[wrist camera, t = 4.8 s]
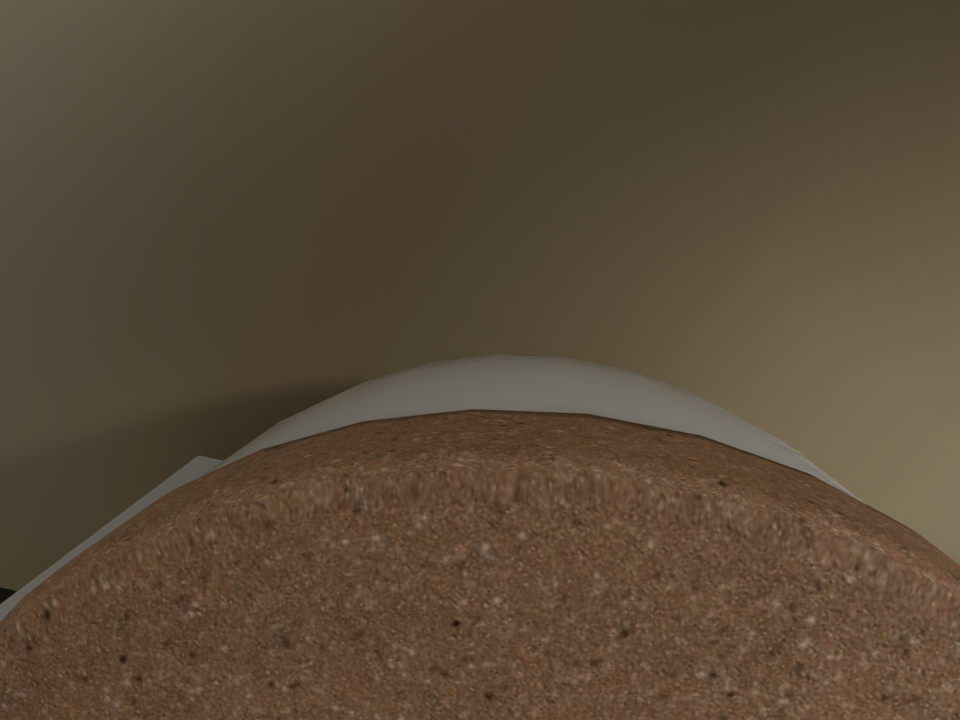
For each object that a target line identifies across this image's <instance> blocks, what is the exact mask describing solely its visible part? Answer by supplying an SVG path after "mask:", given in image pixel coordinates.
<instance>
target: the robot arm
mask: <svg viewBox="0 0 960 720" xmlns="http://www.w3.org/2000/svg"><path fill="white" fill-rule="evenodd" d="M222 461H223V460H218V459H213V458H208V457H204V456H199V455H198V456H197V457H195V458H194V459H193V460H191V461H190V462H189V463H187V464H186V465H185V466H183V467H182V468H181V469H179V470H178V471H177V472H176V473H174V474H173V475H172V476H170V477H169V478H168V479H166V480H165V481H164V482H162V483H161V484H160V485H158V486H157V487H156V488H154V489H153V490H152V491H150V492H149V493H148V494H146V495H145V496H144V497H142V498H141V499H140V500H138V501H137V502H136V503H134V504H133V505H132V506H130V507H129V508H128V509H126V510H125V511H124V512H122V513H121V514H120V515H118V516H117V517H116V518H114V519H113V520H112V521H110V522H109V523H108V524H106V525H105V526H104V527H102V528H101V529H100V530H98V531H97V532H96V533H94V534H93V535H92V536H90V537H89V538H88V539H86V540H85V541H84V542H82V543H81V544H80V545H78V546H77V547H76V548H74V549H73V550H72V551H70V552H69V553H68V554H66V555H65V556H64V557H62V558H61V559H60V560H58V561H57V562H56V563H54V564H53V565H52V566H50V567H49V568H48V569H46V570H45V571H44V572H42V573H41V574H40V575H38V576H37V577H36V578H34V579H33V580H32V581H30V582H29V583H28V584H26V585H25V586H24V587H22V588H21V589H20V590H18V591H14V590H9V589H4V588H0V621H1V620H2V619H3V618H4V617H5V616H6V615H7V614H8V613H9V612H10V611H11V610H12V609H13V608H14V607H15V606H16V605H17V604H18V603H19V602H20V601H21V600H22V599H23V598H24V597H25V596H26V595H27V594H28V593H30V592H31V591H32V590H33V589H35V588H36V587H37V586H38V585H40V584H41V583H42V582H43V581H45V580H46V579H47V578H48V577H49V576H51V575H52V574H53V573H54V572H56V571H57V570H59V569H60V568H61V567H63V566H64V565H65V564H67V563H68V562H69V561H71V560H72V559H73V558H75V557H76V556H77V555H79V554H80V553H82V552H83V551H84V550H86V549H87V548H89V547H90V546H91V545H93V544H94V543H96V542H97V541H99V540H100V539H102V538H103V537H104V536H106V535H107V534H109V533H110V532H112V531H113V530H114V529H116V528H117V527H119V526H120V525H122V524H123V523H125V522H126V521H127V520H129V519H130V518H132V517H133V516H135V515H136V514H137V513H139V512H140V511H142V510H143V509H145V508H146V507H147V506H149V505H150V504H152V503H153V502H155V501H156V500H158V499H159V498H161V497H162V496H164V495H166V494H167V493H169V492H171V491H172V490H174V489H176V488H178V487H181V486H183V485H185V484H187V483H189V482H191V481H194V480H196V479H198V478H200V477H201V476H202V475H204V474H205V473H207V472H208V471H209V470H211V469H212V468H214V467H215V466H216V465H218V464H219V463H221V462H222Z"/></svg>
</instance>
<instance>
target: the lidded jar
mask: <svg viewBox="0 0 960 720" xmlns="http://www.w3.org/2000/svg"><path fill="white" fill-rule="evenodd" d="M0 720H960V565H958V564H957V563H956V562H954V561H953V560H952V559H951V558H949V557H948V556H947V555H945V554H944V553H943V552H942V551H940V550H939V549H938V548H937V547H935V546H934V545H933V544H931V543H930V542H929V541H928V540H926V539H925V538H924V537H922V536H921V535H919V534H918V533H916V532H914V531H913V530H911V529H910V528H908V527H907V526H905V525H903V524H901V523H899V522H898V521H896V520H894V519H892V518H890V517H888V516H886V515H885V514H883V513H881V512H879V511H877V510H875V509H874V508H872V507H870V506H868V505H866V504H865V503H863V502H862V501H861V500H860V499H858V498H857V497H856V496H854V495H853V494H852V493H851V492H849V491H848V490H847V489H845V488H844V487H843V486H842V485H840V484H839V483H838V482H836V481H835V480H834V479H833V478H831V477H830V476H829V475H827V474H826V473H825V472H824V471H822V470H821V469H820V468H818V467H817V466H816V465H814V464H813V463H812V462H811V461H809V460H808V459H807V458H805V457H804V456H803V455H802V454H800V453H799V452H798V451H796V450H795V449H794V448H792V447H791V446H790V445H789V444H787V443H785V442H783V441H781V440H780V439H778V438H776V437H774V436H772V435H770V434H769V433H767V432H765V431H763V430H761V429H759V428H758V427H756V426H754V425H752V424H750V423H748V422H747V421H745V420H743V419H741V418H739V417H737V416H736V415H734V414H732V413H730V412H728V411H726V410H725V409H723V408H721V407H719V406H717V405H715V404H713V403H712V402H710V401H708V400H706V399H704V398H702V397H700V396H699V395H697V394H695V393H693V392H691V391H688V390H685V389H682V388H679V387H677V386H674V385H671V384H668V383H665V382H663V381H660V380H657V379H654V378H651V377H648V376H646V375H643V374H640V373H637V372H634V371H631V370H629V369H624V368H618V367H613V366H608V365H602V364H597V363H592V362H587V361H581V360H576V359H571V358H566V357H557V356H527V355H487V356H479V357H470V358H462V359H454V360H445V361H437V362H429V363H426V364H422V365H419V366H415V367H412V368H408V369H404V370H401V371H397V372H394V373H390V374H387V375H383V376H380V377H376V378H373V379H369V380H367V381H365V382H362V383H360V384H358V385H356V386H354V387H352V388H350V389H347V390H345V391H343V392H341V393H339V394H337V395H335V396H332V397H330V398H328V399H326V400H324V401H322V402H320V403H317V404H315V405H313V406H311V407H309V408H307V409H305V410H303V411H301V412H299V413H297V414H295V415H292V416H290V417H288V418H286V419H284V420H282V421H280V422H278V423H277V424H275V425H274V426H272V427H271V428H269V429H268V430H267V431H265V432H264V433H262V434H261V435H259V436H258V437H257V438H255V439H254V440H252V441H251V442H249V443H248V444H246V445H245V446H244V447H242V448H241V449H239V450H238V451H236V452H235V453H233V454H232V455H231V456H229V457H228V458H226V459H225V460H223V461H222V462H221V463H219V464H218V465H216V466H215V467H214V468H212V469H211V470H209V471H208V472H207V473H205V474H204V475H202V476H201V477H200V478H198V479H196V480H194V481H191V482H189V483H187V484H185V485H183V486H181V487H178V488H176V489H174V490H172V491H171V492H169V493H167V494H166V495H164V496H162V497H161V498H159V499H158V500H156V501H155V502H153V503H152V504H150V505H149V506H147V507H146V508H145V509H143V510H142V511H140V512H139V513H137V514H136V515H135V516H133V517H132V518H130V519H129V520H127V521H126V522H125V523H123V524H122V525H120V526H119V527H117V528H116V529H114V530H113V531H112V532H110V533H109V534H107V535H106V536H104V537H103V538H102V539H100V540H99V541H97V542H96V543H94V544H93V545H91V546H90V547H89V548H87V549H86V550H84V551H83V552H82V553H80V554H79V555H77V556H76V557H75V558H73V559H72V560H71V561H69V562H68V563H67V564H65V565H64V566H63V567H61V568H60V569H59V570H57V571H56V572H54V573H53V574H52V575H51V576H49V577H48V578H47V579H46V580H45V581H43V582H42V583H41V584H40V585H38V586H37V587H36V588H35V589H33V590H32V591H31V592H30V593H28V594H27V595H26V596H25V597H24V598H23V599H22V600H21V601H20V602H19V603H18V604H17V605H16V606H15V607H14V608H13V609H12V610H11V611H10V612H9V613H8V614H7V615H6V616H5V617H4V618H3V619H2V620H1V621H0Z"/></svg>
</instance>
